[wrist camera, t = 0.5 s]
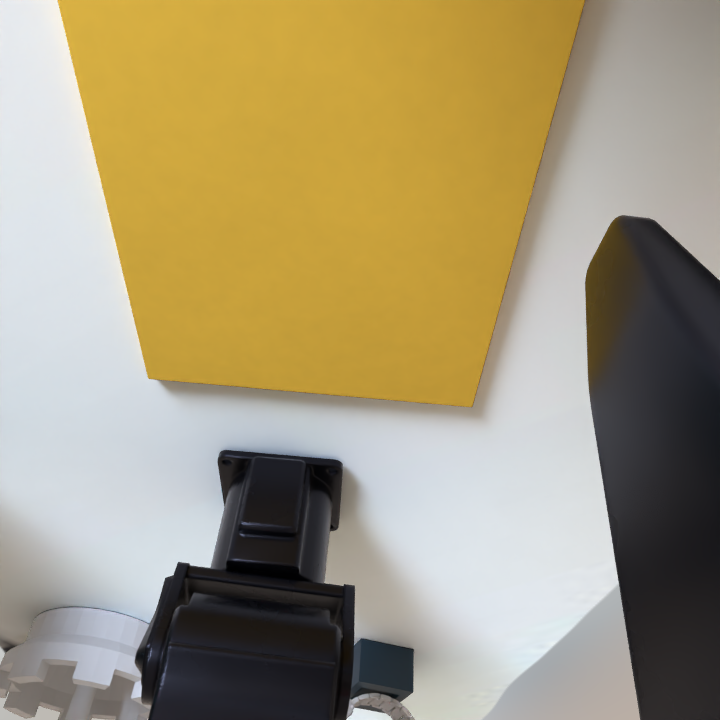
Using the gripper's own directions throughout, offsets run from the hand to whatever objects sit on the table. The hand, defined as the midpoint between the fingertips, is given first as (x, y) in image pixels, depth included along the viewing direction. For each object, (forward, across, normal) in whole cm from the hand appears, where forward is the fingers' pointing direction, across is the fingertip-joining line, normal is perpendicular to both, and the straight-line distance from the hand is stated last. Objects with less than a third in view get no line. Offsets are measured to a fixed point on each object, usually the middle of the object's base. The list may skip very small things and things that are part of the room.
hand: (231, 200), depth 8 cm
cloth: (+13, 0, +11) cm, 17 cm away
